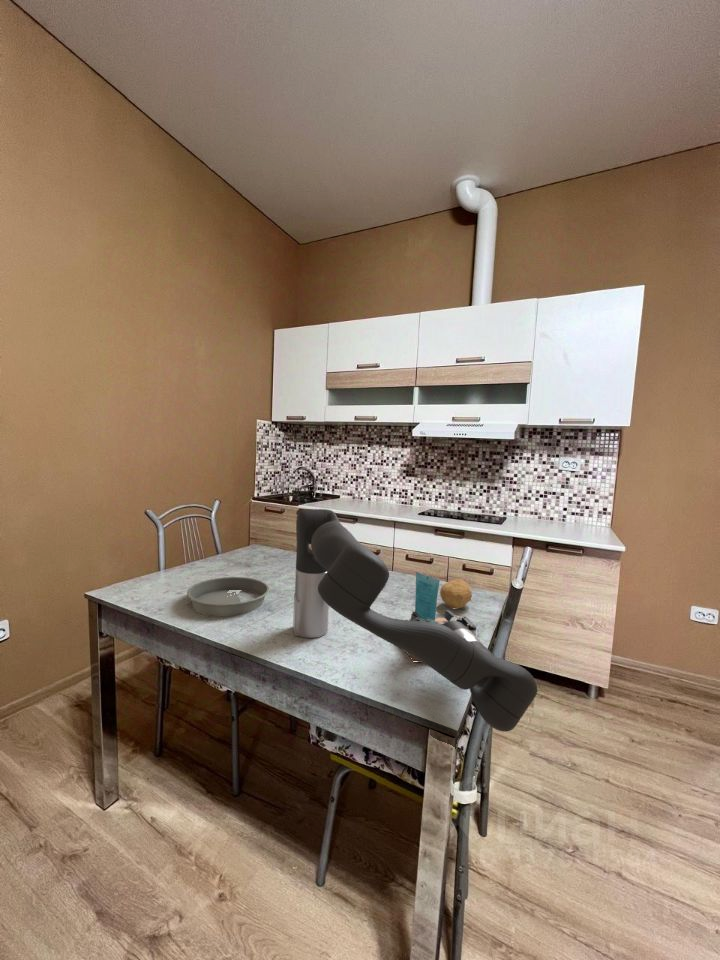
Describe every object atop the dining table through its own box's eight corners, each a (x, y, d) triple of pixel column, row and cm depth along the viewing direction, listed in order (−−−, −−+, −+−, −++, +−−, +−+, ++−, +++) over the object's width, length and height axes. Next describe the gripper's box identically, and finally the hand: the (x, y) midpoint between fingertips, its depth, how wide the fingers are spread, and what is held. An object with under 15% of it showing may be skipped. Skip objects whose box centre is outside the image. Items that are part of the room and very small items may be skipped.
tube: (440, 652, 102) (445, 577, 101) (429, 659, 99) (434, 581, 97) (416, 641, 107) (420, 570, 106) (405, 647, 104) (409, 574, 102)
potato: (433, 610, 129) (434, 585, 129) (446, 597, 142) (448, 574, 141) (463, 617, 125) (465, 592, 124) (474, 603, 137) (476, 580, 136)
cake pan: (238, 625, 113) (239, 609, 112) (168, 610, 121) (168, 595, 120) (283, 596, 136) (283, 583, 136) (221, 584, 144) (221, 572, 144)
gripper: (493, 627, 85) (458, 598, 101) (429, 631, 82) (403, 600, 98) (490, 662, 86) (456, 627, 101) (426, 667, 82) (401, 630, 98)
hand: (430, 614), depth 99 cm, fingers open, 8 cm apart
